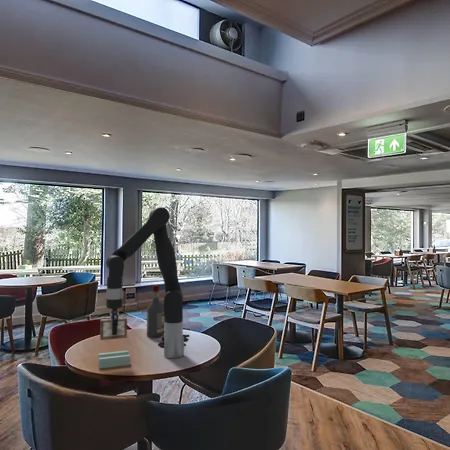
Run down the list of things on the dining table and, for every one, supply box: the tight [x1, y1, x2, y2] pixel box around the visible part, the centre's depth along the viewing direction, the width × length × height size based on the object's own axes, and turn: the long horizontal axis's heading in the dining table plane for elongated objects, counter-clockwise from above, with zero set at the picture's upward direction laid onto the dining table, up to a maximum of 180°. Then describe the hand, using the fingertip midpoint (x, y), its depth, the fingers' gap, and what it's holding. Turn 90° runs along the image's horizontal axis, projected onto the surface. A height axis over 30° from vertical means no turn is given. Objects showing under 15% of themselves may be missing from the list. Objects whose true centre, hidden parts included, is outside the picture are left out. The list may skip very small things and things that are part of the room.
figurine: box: [157, 334, 190, 349], centre depth 214 cm, size 16×1×30 cm
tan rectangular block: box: [99, 316, 128, 341], centre depth 181 cm, size 12×4×9 cm, turn 110°
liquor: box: [146, 284, 164, 339], centre depth 228 cm, size 9×9×30 cm
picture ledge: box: [97, 350, 131, 370], centre depth 181 cm, size 14×10×4 cm
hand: (114, 333), depth 181 cm, fingers closed on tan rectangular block, 3 cm apart
